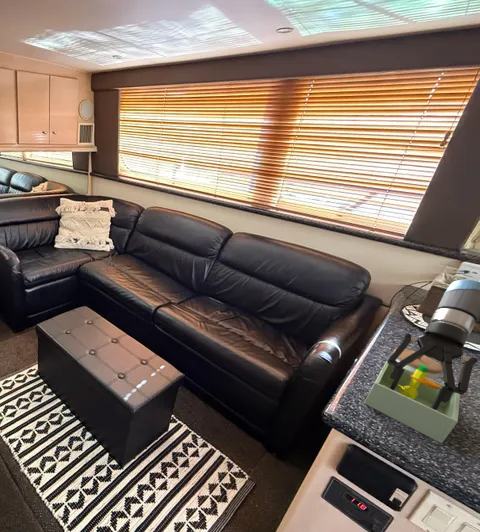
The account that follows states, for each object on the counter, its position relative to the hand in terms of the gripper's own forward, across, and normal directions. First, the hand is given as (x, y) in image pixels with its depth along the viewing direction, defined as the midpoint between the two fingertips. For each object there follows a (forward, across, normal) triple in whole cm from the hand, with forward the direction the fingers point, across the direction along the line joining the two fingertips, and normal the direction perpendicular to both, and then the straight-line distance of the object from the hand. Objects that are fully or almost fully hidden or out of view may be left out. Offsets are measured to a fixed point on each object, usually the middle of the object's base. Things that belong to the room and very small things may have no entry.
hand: (411, 399), depth 82 cm
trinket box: (-11, +2, -18) cm, 21 cm away
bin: (+1, 0, -6) cm, 6 cm away
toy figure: (0, 0, -5) cm, 5 cm away
